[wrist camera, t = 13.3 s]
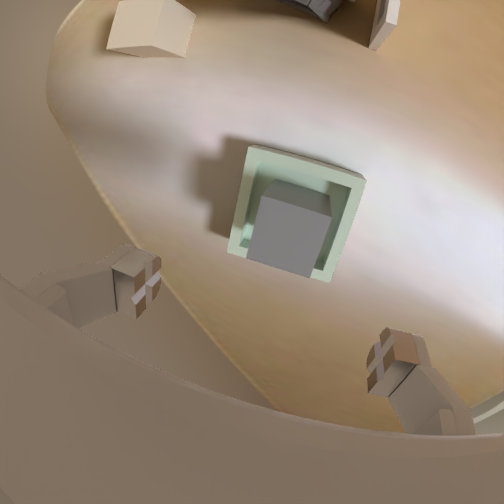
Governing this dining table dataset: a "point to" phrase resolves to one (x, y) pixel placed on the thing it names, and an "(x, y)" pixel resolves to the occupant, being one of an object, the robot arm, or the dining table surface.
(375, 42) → the label plate
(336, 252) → the tray
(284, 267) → the grey part
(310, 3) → the electrical switch
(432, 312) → the dining table surface
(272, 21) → the dining table surface
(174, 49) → the beige part
